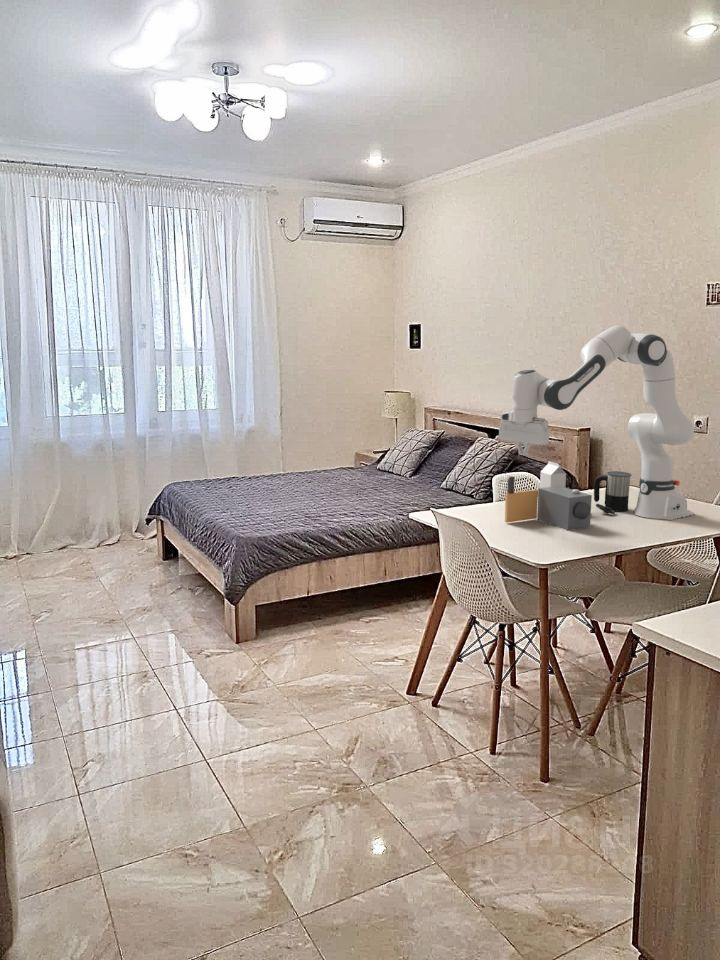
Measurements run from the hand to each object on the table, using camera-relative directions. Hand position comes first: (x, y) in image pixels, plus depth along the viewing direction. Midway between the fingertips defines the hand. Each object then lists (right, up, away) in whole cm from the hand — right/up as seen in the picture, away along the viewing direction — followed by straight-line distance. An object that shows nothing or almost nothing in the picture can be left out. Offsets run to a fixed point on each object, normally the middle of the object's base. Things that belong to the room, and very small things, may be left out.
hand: (523, 454), depth 273 cm
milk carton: (+18, -21, +32) cm, 42 cm away
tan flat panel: (+2, -24, +13) cm, 27 cm away
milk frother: (+41, -22, +28) cm, 54 cm away
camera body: (+17, -25, +10) cm, 32 cm away
